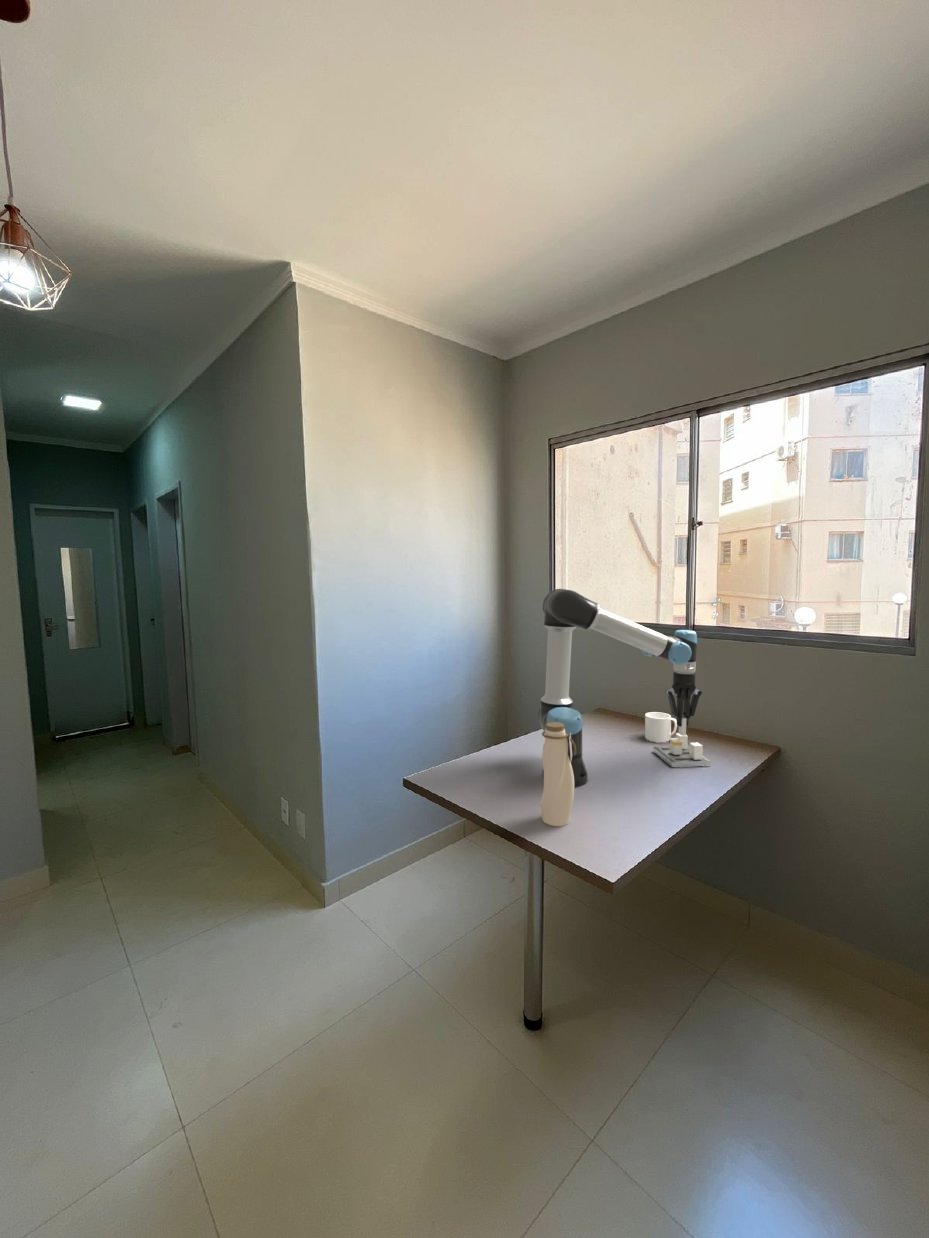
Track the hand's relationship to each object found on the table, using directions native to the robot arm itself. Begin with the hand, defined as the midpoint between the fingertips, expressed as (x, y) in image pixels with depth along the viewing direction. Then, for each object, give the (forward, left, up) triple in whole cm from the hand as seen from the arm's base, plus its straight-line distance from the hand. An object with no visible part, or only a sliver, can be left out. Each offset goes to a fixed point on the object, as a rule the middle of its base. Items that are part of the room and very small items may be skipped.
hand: (682, 734), depth 186 cm
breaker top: (+3, +5, -7) cm, 9 cm away
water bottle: (-56, -41, -10) cm, 70 cm away
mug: (+2, +21, -10) cm, 24 cm away
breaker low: (+3, -6, -7) cm, 9 cm away
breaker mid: (-2, 0, -7) cm, 7 cm away
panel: (0, 0, -9) cm, 9 cm away
